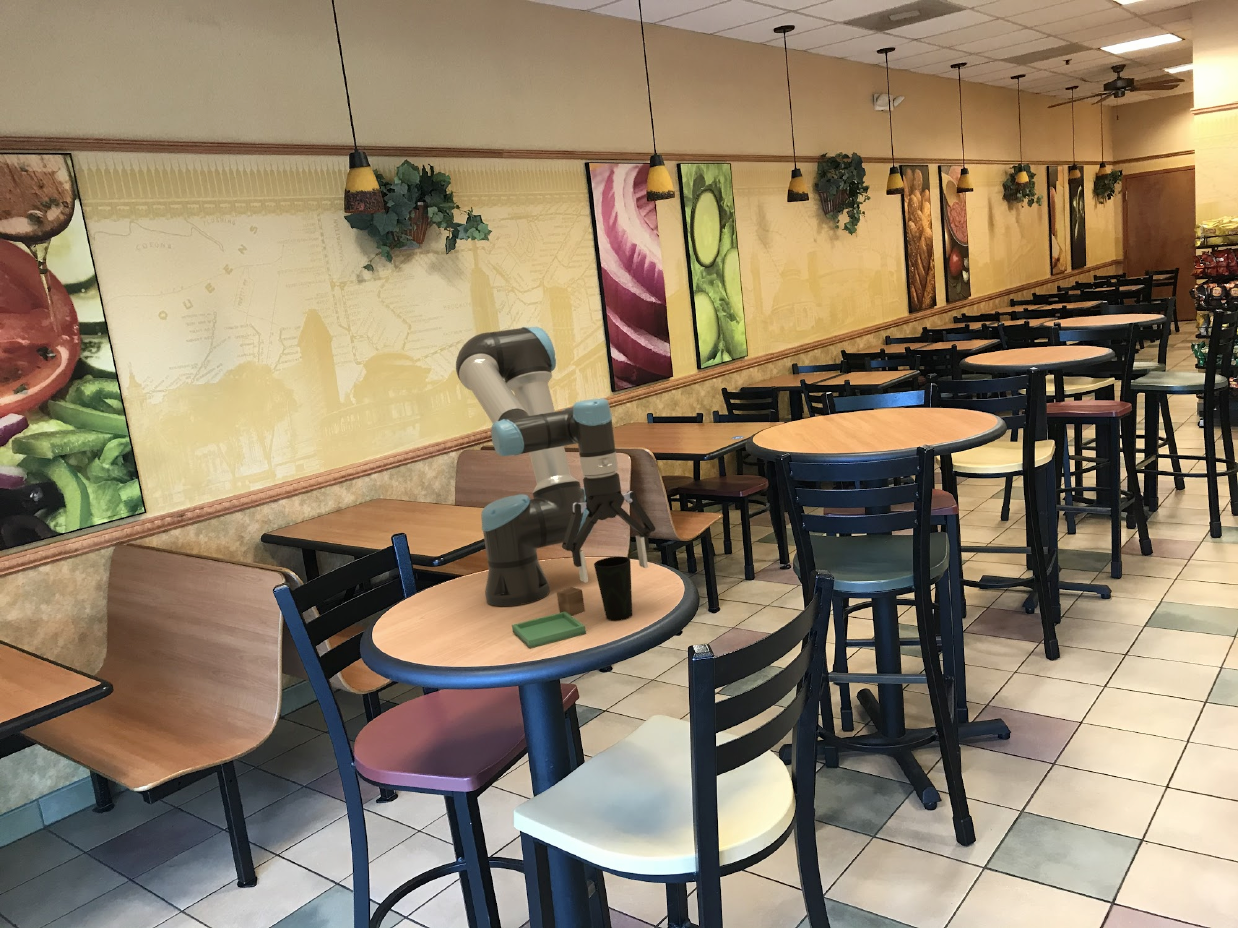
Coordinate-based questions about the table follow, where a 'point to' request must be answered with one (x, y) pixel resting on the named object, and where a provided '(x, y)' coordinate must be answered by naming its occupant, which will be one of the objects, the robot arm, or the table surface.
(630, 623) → the table surface
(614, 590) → the cup
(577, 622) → the tray
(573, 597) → the walnut block
